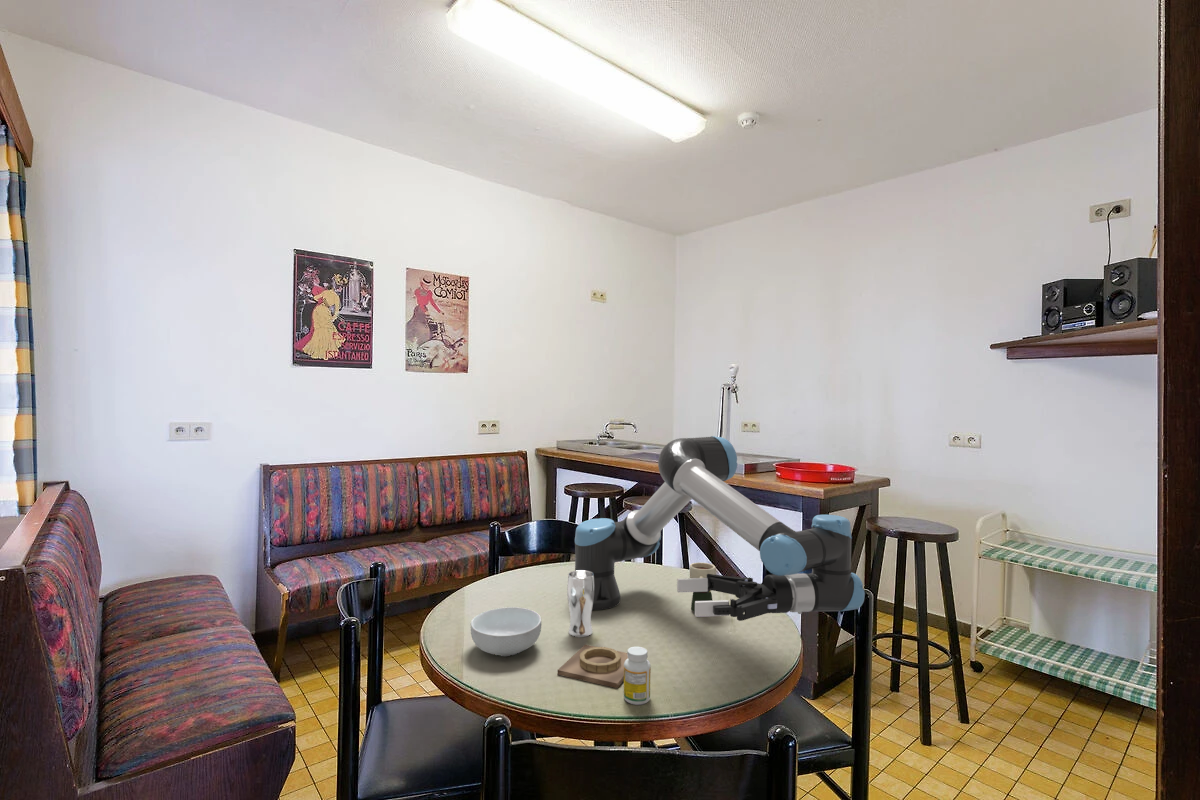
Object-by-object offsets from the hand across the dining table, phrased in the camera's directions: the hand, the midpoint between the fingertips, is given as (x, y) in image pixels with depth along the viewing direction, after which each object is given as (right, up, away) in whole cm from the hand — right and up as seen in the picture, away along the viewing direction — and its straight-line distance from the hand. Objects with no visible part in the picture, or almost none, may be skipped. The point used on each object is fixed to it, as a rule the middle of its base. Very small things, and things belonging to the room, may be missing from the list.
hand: (685, 596), depth 115 cm
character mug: (+11, -20, +45) cm, 51 cm away
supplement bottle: (-10, -20, -1) cm, 23 cm away
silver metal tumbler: (-22, -20, +31) cm, 43 cm away
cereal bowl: (-40, -20, +21) cm, 49 cm away
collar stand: (-17, -20, +12) cm, 29 cm away
